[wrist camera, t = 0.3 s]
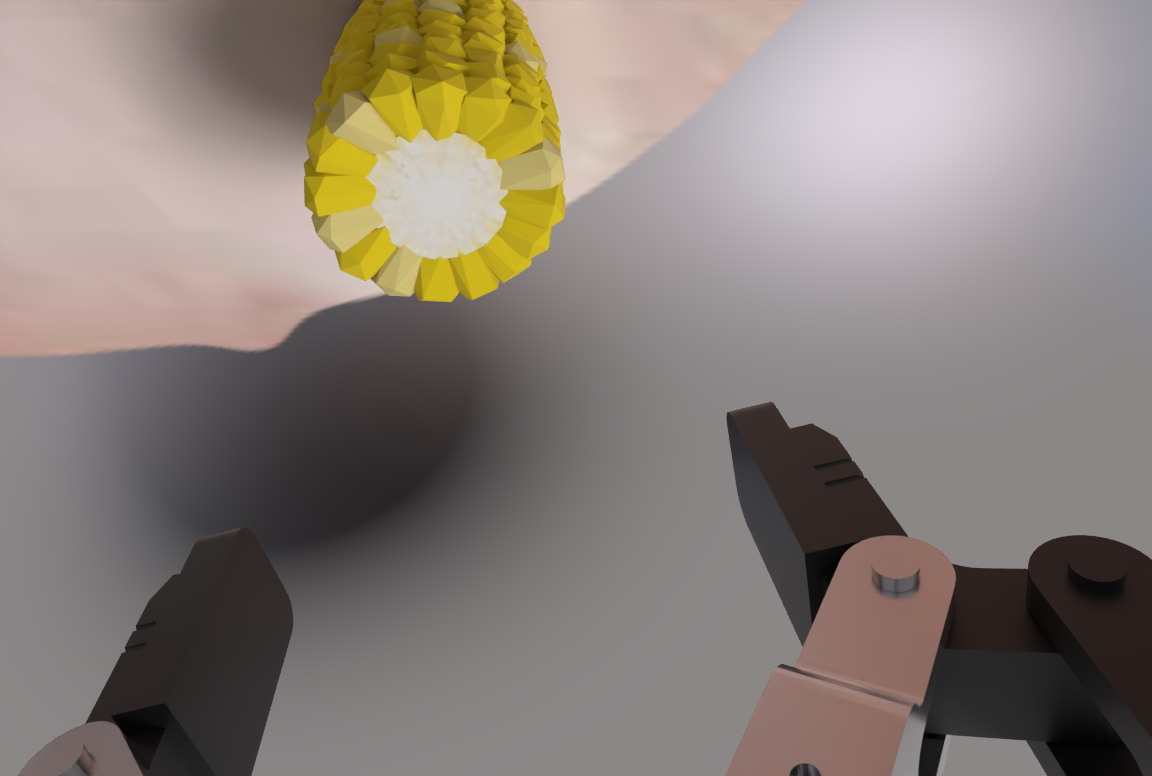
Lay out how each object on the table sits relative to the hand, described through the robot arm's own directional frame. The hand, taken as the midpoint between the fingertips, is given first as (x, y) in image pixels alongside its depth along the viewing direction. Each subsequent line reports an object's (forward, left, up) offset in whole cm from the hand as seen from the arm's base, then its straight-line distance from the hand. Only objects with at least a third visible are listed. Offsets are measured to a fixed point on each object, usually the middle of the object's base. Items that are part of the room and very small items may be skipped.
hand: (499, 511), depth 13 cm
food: (+3, -4, -31) cm, 31 cm away
